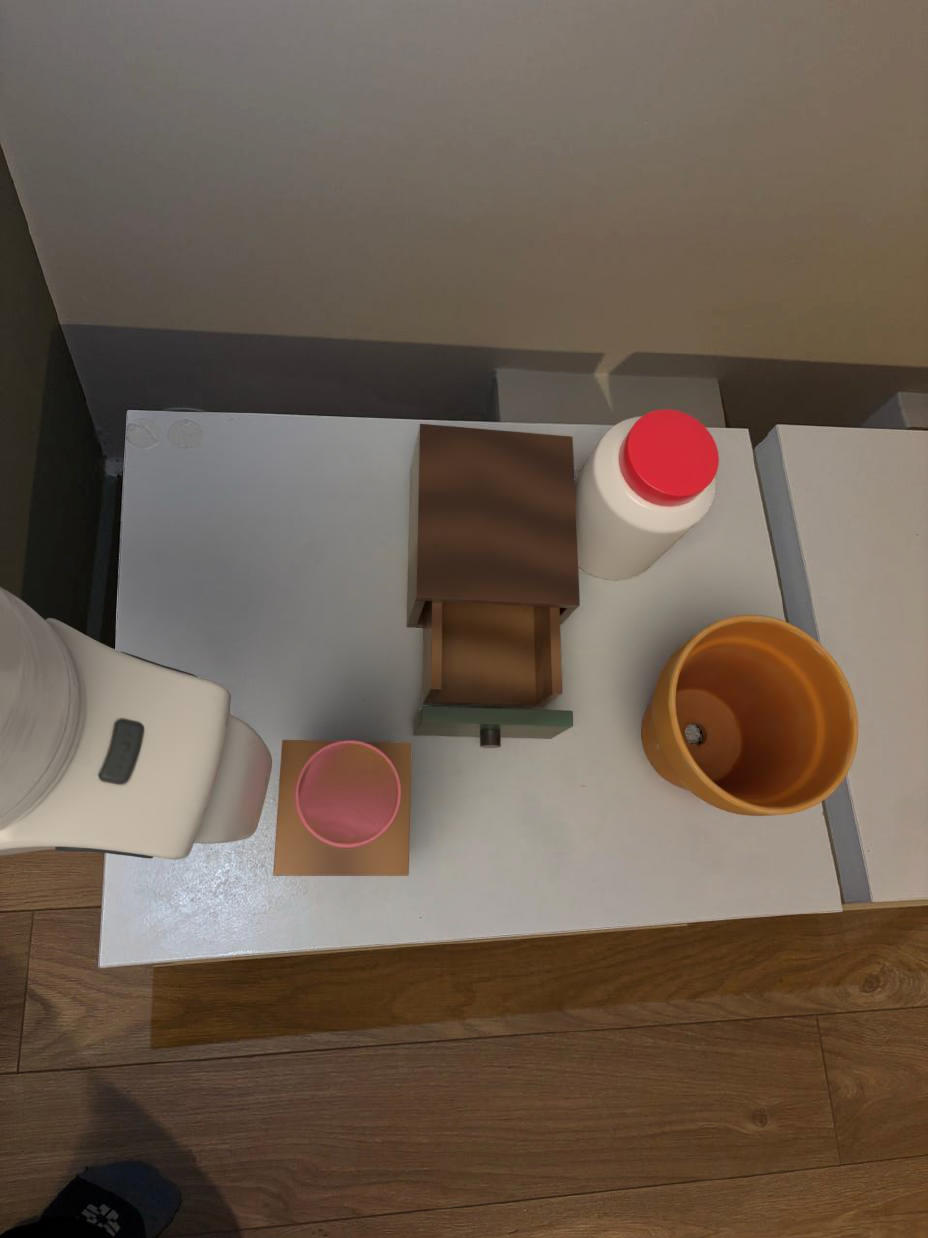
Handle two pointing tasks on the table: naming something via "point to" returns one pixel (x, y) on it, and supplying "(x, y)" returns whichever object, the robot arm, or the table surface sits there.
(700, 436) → the pill bottle
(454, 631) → the drawer
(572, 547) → the cabinet
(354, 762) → the pink-rimmed cylinder
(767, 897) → the table surface
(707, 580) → the table surface
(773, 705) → the flower pot
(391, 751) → the stand
